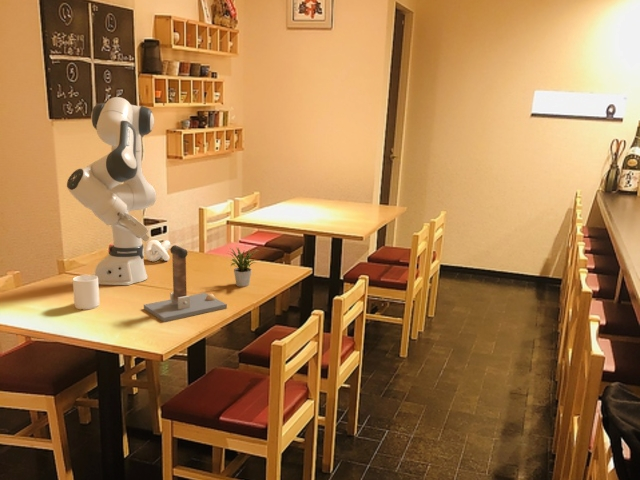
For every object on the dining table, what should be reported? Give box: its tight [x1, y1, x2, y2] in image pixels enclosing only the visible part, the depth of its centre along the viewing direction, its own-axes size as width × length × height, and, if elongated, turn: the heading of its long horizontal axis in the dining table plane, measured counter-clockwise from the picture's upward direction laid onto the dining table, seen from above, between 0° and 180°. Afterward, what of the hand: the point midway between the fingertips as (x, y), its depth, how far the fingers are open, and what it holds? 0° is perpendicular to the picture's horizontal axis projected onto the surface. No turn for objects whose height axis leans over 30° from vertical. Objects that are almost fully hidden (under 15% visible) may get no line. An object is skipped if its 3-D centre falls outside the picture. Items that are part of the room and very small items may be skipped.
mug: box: [72, 274, 100, 311], centre depth 212 cm, size 12×8×10 cm
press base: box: [143, 292, 228, 323], centre depth 211 cm, size 24×16×6 cm, turn 129°
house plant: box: [225, 245, 260, 287], centre depth 239 cm, size 14×14×16 cm
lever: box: [169, 244, 188, 302], centre depth 207 cm, size 3×6×19 cm, turn 39°
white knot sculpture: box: [144, 239, 171, 263], centre depth 274 cm, size 11×12×9 cm
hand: (143, 237), depth 196 cm, fingers open, 4 cm apart
